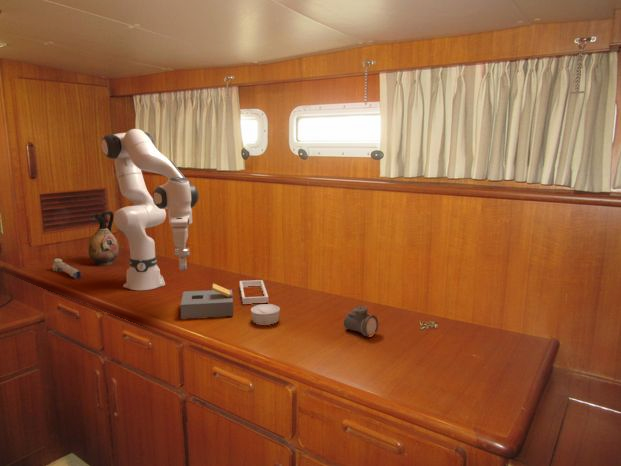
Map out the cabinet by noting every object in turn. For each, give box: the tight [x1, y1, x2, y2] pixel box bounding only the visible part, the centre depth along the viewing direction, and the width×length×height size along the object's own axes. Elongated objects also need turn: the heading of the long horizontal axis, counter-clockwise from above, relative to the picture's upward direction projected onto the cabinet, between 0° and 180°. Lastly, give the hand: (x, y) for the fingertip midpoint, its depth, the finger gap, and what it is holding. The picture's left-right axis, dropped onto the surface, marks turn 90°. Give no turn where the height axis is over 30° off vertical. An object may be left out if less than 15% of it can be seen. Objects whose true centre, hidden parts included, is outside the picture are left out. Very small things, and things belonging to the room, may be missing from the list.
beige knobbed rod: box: [51, 258, 83, 280], centre depth 228 cm, size 5×7×25 cm
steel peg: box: [174, 247, 191, 271], centre depth 176 cm, size 6×6×8 cm
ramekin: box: [250, 303, 281, 326], centre depth 171 cm, size 11×11×5 cm
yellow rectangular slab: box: [211, 283, 234, 298], centre depth 181 cm, size 6×9×1 cm
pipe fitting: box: [343, 305, 379, 338], centre depth 162 cm, size 12×8×10 cm
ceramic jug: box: [88, 210, 120, 267], centre depth 246 cm, size 17×15×30 cm
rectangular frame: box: [239, 279, 269, 305], centre depth 201 cm, size 25×11×3 cm, turn 12°
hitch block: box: [180, 289, 234, 320], centre depth 181 cm, size 16×20×6 cm
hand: (182, 253), depth 176 cm, fingers closed on steel peg, 6 cm apart
